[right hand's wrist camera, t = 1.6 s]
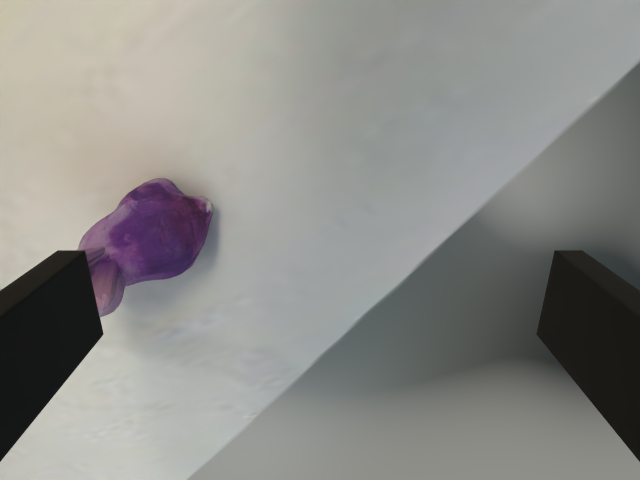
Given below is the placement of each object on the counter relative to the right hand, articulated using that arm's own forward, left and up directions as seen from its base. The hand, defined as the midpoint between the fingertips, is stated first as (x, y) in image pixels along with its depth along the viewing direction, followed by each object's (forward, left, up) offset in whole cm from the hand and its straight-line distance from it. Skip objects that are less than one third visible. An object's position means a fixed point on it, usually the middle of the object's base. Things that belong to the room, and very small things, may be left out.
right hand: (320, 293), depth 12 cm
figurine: (+9, -14, -27) cm, 32 cm away
